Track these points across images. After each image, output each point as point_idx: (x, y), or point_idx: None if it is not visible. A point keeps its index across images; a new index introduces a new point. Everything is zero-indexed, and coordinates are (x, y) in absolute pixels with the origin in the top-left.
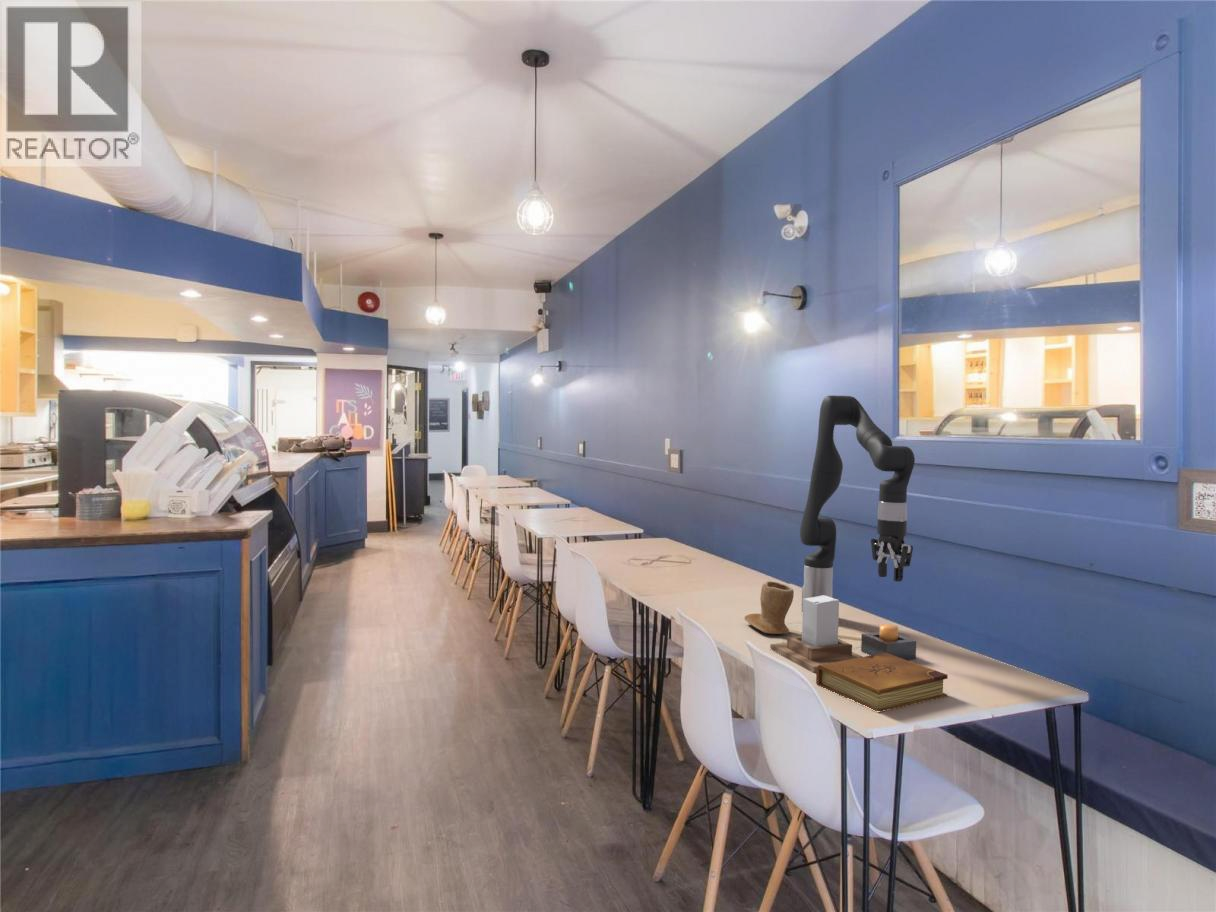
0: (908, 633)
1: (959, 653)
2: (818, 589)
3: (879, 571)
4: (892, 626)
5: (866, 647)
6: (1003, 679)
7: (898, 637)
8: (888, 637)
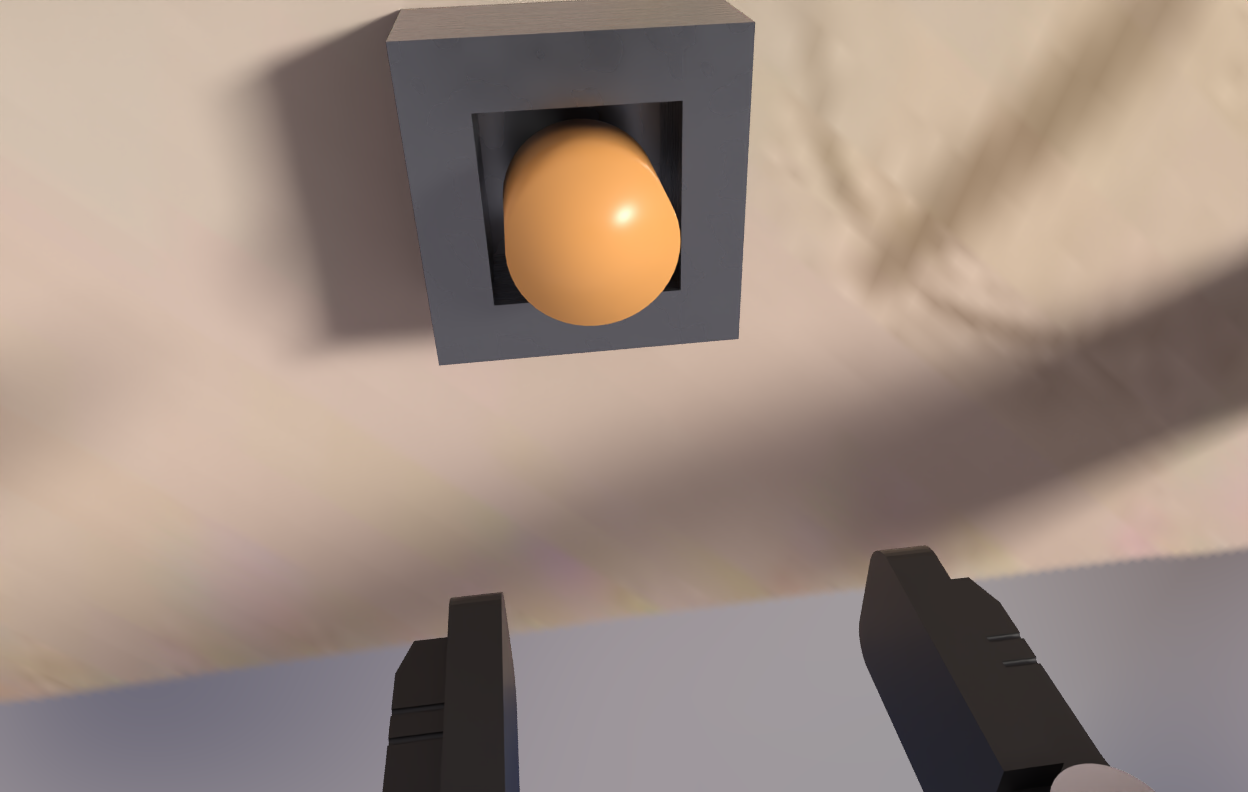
0: None
1: None
2: None
3: (948, 613)
4: (591, 286)
5: (657, 4)
6: (10, 545)
7: None
8: (520, 166)
